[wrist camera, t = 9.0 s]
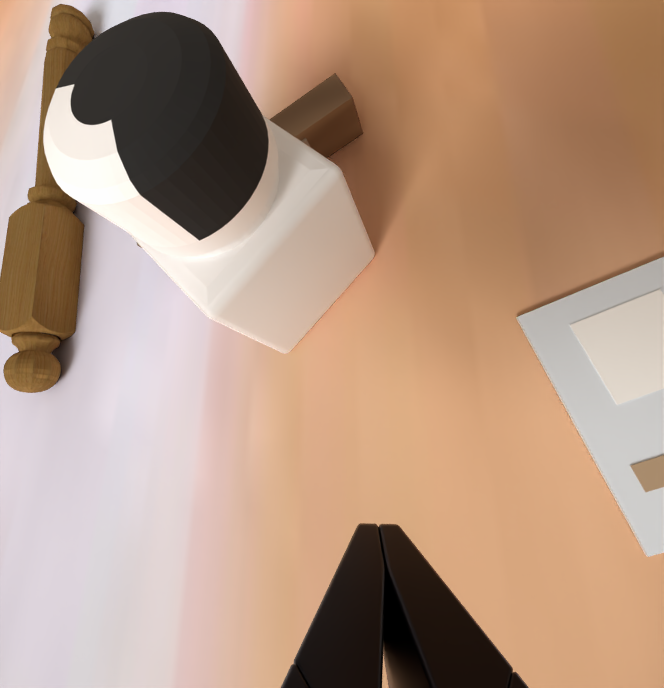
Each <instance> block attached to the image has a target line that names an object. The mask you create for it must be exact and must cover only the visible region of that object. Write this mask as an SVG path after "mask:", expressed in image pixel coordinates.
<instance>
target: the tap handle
mask: <svg viewBox="0 0 664 688" xmlns="http://www.w3.org/2000/svg"><path fill="white" fill-rule="evenodd" d="M50 18H51V20H50V25H49V34H50V36H51V39H49V40H48V42H47V47H46V51H47V53H46V57H45V62H44V75H43V88H42V101H41V115H40V128H39V142H38V155H37V168H36V182H35V187H32V188H29V191H28V199H29V201H30V202H29V203H27V205H24V206H22V207H20V208H19V209H18V210H16V211H15V212H14V213H13V214H12V215H11V216H10V217H9V222H8V229H7V236H6V243H5V249H4V256H3V263H2V270H1V277H0V332H1V333H3V334H5V335H7V336H9V337H11V338H12V344H13V345H15V346H16V347H17V348H18V350H19V352H18V353H15V354H13V355H12V356H11V357H10V358H9V359H8V360H7V361H6V363H5V365H4V370H3V371H4V377H5V380H6V382H7V384H8V385H9V386H10V387H12V388H13V389H15V390H17V391H21V392H27V393H35V392H42V391H45V390H48V389H49V388H51V387H52V386H53V385H55V384H56V382H57V381H58V379H59V376H60V373H61V366H60V363H59V361H58V359H57V358H56V357H55V356H54V355H52V354H51V353H52V351H53V350H54V349H56V348H58V347H59V345H60V341H62V340H64V339H66V338H68V337H70V336H72V335H73V334H74V332H75V329H76V317H77V305H78V293H79V281H80V270H81V258H82V246H83V234H84V224H83V223H82V222H81V221H80V220H79V219H78V218H77V217H76V216H75V215H74V214H73V212H74V210H75V208H76V205H77V203H76V201H75V200H74V198H72V197H70V196H69V195H68V194H67V193H65V192H64V191H63V190H62V189H61V188H60V186H59V185H58V184H57V183H56V181H55V179H54V177H53V175H52V172H51V170H50V167H49V164H48V162H47V158H46V155H45V151H44V143H43V135H44V125H45V119H46V116H47V112H48V108H49V106H50V103H51V100H52V97H53V95H54V92H55V89H56V87H57V85H58V83H59V81H60V79H61V77H62V75H63V74H64V72H65V70H66V69H67V68H68V66H69V65H70V63H71V62H72V61H73V60H74V58H75V57H76V56H77V55H78V54H79V53H80V52H81V51H82V50H83V49H84V47H85V46H87V45H88V44H89V43H90V42H91V41H92V38H93V35H94V31H93V28H92V25H91V22H90V21H89V20H88V19H87V17H86V16H85V15H84V14H83V13H82V12H81V11H79V10H77V9H76V8H74V7H72V6H69V5H64V4H59V5H57V6H55V7H53V8H52V12H51V17H50ZM40 332H42V333H40ZM43 333H49V334H43ZM50 334H53V335H56V336H58V337H60V338H61V340H59V339H58V337H55V336H53V335H50Z"/></svg>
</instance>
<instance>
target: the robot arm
mask: <svg viewBox="0 0 664 688" xmlns="http://www.w3.org/2000/svg"><path fill="white" fill-rule="evenodd" d="M383 654H384V661H385V667H386V673H387V679H388V685H389V688H528V686H527V685H526V684H525V683H524V681H523V680H522V679H521V677H520V676H519V675H518V674H517V673H516V672H513V668H512V666H511V665H510V664H509V663H508V661H507V660H506V659H505V658H504V656H503V655H502V654H501V653H500V651H499V650H498V649H497V648H496V646H495V645H494V644H493V643H492V641H491V640H490V639H489V638H488V636H487V635H486V634H485V633H484V631H483V630H482V629H481V628H480V626H479V625H478V624H477V623H476V621H475V620H474V619H473V618H472V616H471V615H470V614H469V613H468V611H467V610H466V609H465V608H464V606H463V605H462V604H461V603H460V601H459V600H458V599H457V598H456V596H455V595H454V594H453V593H452V591H451V590H450V589H449V588H448V586H447V585H446V584H445V583H444V581H443V580H442V579H441V578H440V576H439V575H438V574H437V573H436V571H435V570H434V569H433V568H432V566H431V565H430V564H429V563H428V561H427V560H426V559H425V558H424V556H423V555H422V554H421V553H420V551H419V550H418V549H417V548H416V546H415V545H414V544H413V543H412V541H411V540H410V539H409V538H408V536H407V535H406V534H405V533H404V531H403V530H402V529H401V528H400V526H398V525H396V524H380V525H379V527H378V526H377V525H376V524H364V523H361V524H359V525H358V526H357V528H356V530H355V532H354V534H353V536H352V539H351V541H350V543H349V545H348V547H347V549H346V551H345V553H344V555H343V558H342V560H341V562H340V564H339V566H338V568H337V570H336V572H335V575H334V577H333V579H332V581H331V583H330V585H329V587H328V589H327V591H326V594H325V596H324V598H323V600H322V602H321V604H320V606H319V608H318V611H317V613H316V615H315V617H314V619H313V621H312V623H311V625H310V627H309V630H308V632H307V634H306V636H305V638H304V640H303V642H302V644H301V646H300V649H299V651H298V653H297V655H296V657H295V659H294V664H293V665H291V667H290V669H289V671H288V673H287V676H286V678H285V680H284V682H283V684H282V686H281V688H382V668H383Z"/></svg>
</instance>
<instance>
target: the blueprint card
mask: <svg viewBox="0 0 664 688" xmlns="http://www.w3.org/2000/svg"><path fill="white" fill-rule="evenodd" d="M516 319H517V321H518V323H519V325H520V326H521V328H522V330H523V332H524V334H525V336H526V337H527V339H528V341H529V343H530V345H531V347H532V348H533V350H534V352H535V354H536V356H537V357H538V359H539V361H540V363H541V365H542V367H543V368H544V370H545V372H546V374H547V376H548V378H549V379H550V381H551V383H552V385H553V387H554V389H555V390H556V392H557V394H558V396H559V398H560V400H561V401H562V403H563V405H564V407H565V409H566V411H567V412H568V414H569V416H570V418H571V420H572V421H573V423H574V425H575V427H576V429H577V431H578V432H579V434H580V436H581V438H582V440H583V442H584V443H585V445H586V447H587V449H588V451H589V453H590V454H591V456H592V458H593V460H594V462H595V464H596V465H597V467H598V469H599V471H600V473H601V475H602V476H603V478H604V480H605V482H606V484H607V486H608V487H609V489H610V491H611V493H612V495H613V496H614V498H615V500H616V502H617V504H618V506H619V507H620V509H621V511H622V513H623V515H624V517H625V518H626V520H627V522H628V524H629V526H630V528H631V529H632V531H633V533H634V535H635V537H636V539H637V540H638V542H639V544H640V546H641V548H642V550H643V551H644V553H645V555H646V556H648V557H649V556H653V555H656V554H660V553H664V257H662V258H659V259H657V260H654V261H652V262H649V263H647V264H645V265H642V266H640V267H637V268H635V269H632V270H630V271H628V272H625V273H623V274H620V275H618V276H615V277H613V278H610V279H608V280H606V281H603V282H601V283H598V284H596V285H593V286H591V287H589V288H586V289H584V290H581V291H579V292H576V293H574V294H572V295H569V296H567V297H564V298H562V299H559V300H557V301H554V302H552V303H550V304H547V305H545V306H542V307H540V308H537V309H535V310H533V311H530V312H528V313H525V314H523V315H520V316H518V317H516Z"/></svg>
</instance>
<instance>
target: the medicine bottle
mask: <svg viewBox="0 0 664 688" xmlns="http://www.w3.org/2000/svg"><path fill="white" fill-rule="evenodd" d="M43 143H44V151H45V155H46V158H47V162H48V164H49V167H50V170H51V172H52V175H53V177H54V179H55V181H56V183H57V184H58V185H59V186H60V188H61V189H62V190H63V191H64V192H65V193H67V194H68V195H69V196H70V197H72V198H74V199H75V200H77V201H78V202H80V203H82V204H83V205H85V206H86V207H88V208H90V209H91V210H93V211H94V212H96V213H98V214H99V215H101V216H102V217H104V218H106V219H107V220H109V221H110V222H112V223H114V224H115V225H117V226H118V227H120V228H122V229H123V230H125V231H127V232H128V233H129V234H130V235H131V237H132V238H133V239H134V240H135V241H136V242H137V243H138V244H139V245H140V246H141V247H142V248H143V249H144V250H145V251H146V252H147V254H148V255H149V256H150V257H151V258H152V259H153V260H154V261H155V262H156V263H157V264H158V265H159V266H160V267H161V268H162V269H163V270H164V272H165V273H166V274H167V275H168V276H169V277H170V278H171V279H172V280H173V281H174V282H175V283H176V284H177V285H178V286H179V287H180V289H181V290H182V291H183V292H184V293H185V294H186V295H187V296H188V297H189V298H190V299H191V300H192V301H193V302H194V303H195V304H196V305H197V307H198V308H199V309H200V310H201V311H202V312H203V313H204V314H205V315H206V316H207V317H208V318H210V319H212V320H214V321H216V322H218V323H220V324H222V325H224V326H227V327H229V328H231V329H233V330H235V331H237V332H239V333H241V334H243V335H246V336H248V337H250V338H252V339H254V340H256V341H258V342H260V343H262V344H264V345H267V346H269V347H271V348H273V349H275V350H277V351H279V352H281V353H283V354H284V353H289V352H290V351H291V350H292V349H293V348H294V347H295V346H296V345H297V344H298V342H299V341H300V340H301V339H302V338H303V337H304V336H305V335H306V333H307V332H308V331H309V330H310V329H311V328H312V327H313V326H314V325H315V323H316V322H317V321H318V320H319V319H320V318H321V317H322V316H323V314H324V313H325V312H326V311H327V310H328V309H329V308H330V307H331V305H332V304H333V303H334V302H335V301H336V300H337V299H338V298H339V296H340V295H341V294H342V293H343V292H344V291H345V290H346V289H347V287H348V286H349V285H350V284H351V283H352V282H353V281H354V280H355V278H356V277H357V276H358V275H359V274H360V273H361V272H362V271H363V269H364V268H365V267H366V266H367V265H368V264H369V263H370V262H371V261H372V259H373V258H374V255H375V252H374V249H373V246H372V244H371V242H370V239H369V237H368V234H367V232H366V229H365V227H364V224H363V222H362V219H361V217H360V215H359V212H358V210H357V207H356V205H355V202H354V200H353V197H352V195H351V192H350V190H349V187H348V185H347V183H346V180H345V178H344V175H343V173H342V171H341V169H340V168H339V167H338V166H337V165H336V164H334V163H333V162H331V161H330V160H328V159H327V158H325V157H324V156H322V155H321V154H319V153H318V152H316V151H315V150H313V149H312V148H310V147H309V146H307V145H306V144H304V143H303V142H301V141H300V140H298V139H297V138H295V137H294V136H292V135H291V134H289V133H288V132H286V131H285V130H283V129H282V128H280V127H279V126H277V125H276V124H274V123H273V122H271V121H270V120H268V119H267V118H265V117H264V116H263V115H262V114H261V112H260V110H259V109H258V107H257V105H256V103H255V102H254V100H253V98H252V97H251V95H250V93H249V91H248V90H247V88H246V86H245V85H244V83H243V81H242V80H241V78H240V76H239V74H238V73H237V71H236V69H235V68H234V66H233V64H232V62H231V61H230V59H229V57H228V56H227V54H226V52H225V51H224V49H223V47H222V45H221V44H220V42H219V40H218V39H217V37H216V36H215V35H214V34H213V32H212V31H211V30H210V29H209V28H207V27H206V26H205V25H204V24H202V23H200V22H198V21H196V20H194V19H191V18H188V17H186V16H183V15H180V14H176V13H171V12H153V13H148V14H144V15H140V16H137V17H134V18H131V19H129V20H127V21H125V22H122V23H120V24H118V25H116V26H114V27H112V28H110V29H108V30H107V31H105V32H103V33H102V34H100V35H99V36H98V37H96V38H95V39H93V40H92V41H91V42H90V43H89V44H88V45H87V46H85V47H84V49H83V50H82V51H81V52H80V53H79V54H78V55H77V56H76V57H75V58H74V60H73V61H72V62H71V63H70V65H69V66H68V68H67V69H66V70H65V72H64V74H63V75H62V77H61V79H60V81H59V83H58V85H57V87H56V89H55V92H54V95H53V97H52V100H51V103H50V106H49V108H48V112H47V116H46V119H45V125H44V135H43Z"/></svg>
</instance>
